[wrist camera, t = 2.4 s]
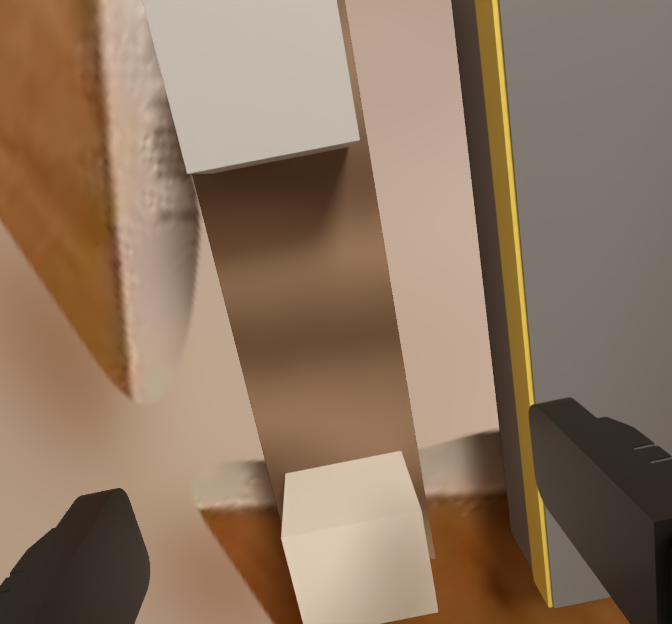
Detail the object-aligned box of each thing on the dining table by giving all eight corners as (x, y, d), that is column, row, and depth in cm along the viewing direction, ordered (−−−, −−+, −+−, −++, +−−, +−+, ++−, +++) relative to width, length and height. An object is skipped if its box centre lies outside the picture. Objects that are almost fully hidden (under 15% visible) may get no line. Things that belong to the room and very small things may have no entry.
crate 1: (178, 37, 17) (141, -3, 13) (324, 8, 17) (330, -39, 13) (212, 173, 18) (187, 173, 15) (348, 147, 18) (359, 140, 15)
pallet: (177, 31, 21) (147, -1, 17) (332, 1, 21) (338, -38, 17) (298, 527, 27) (297, 585, 23) (416, 503, 27) (435, 558, 23)
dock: (434, -107, 20) (475, -196, 15) (690, -156, 20) (813, -261, 15) (507, 534, 28) (549, 609, 23) (690, 497, 28) (770, 565, 23)
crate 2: (285, 473, 22) (280, 538, 18) (400, 450, 22) (421, 510, 18) (306, 560, 23) (306, 638, 19) (416, 538, 23) (438, 611, 19)
